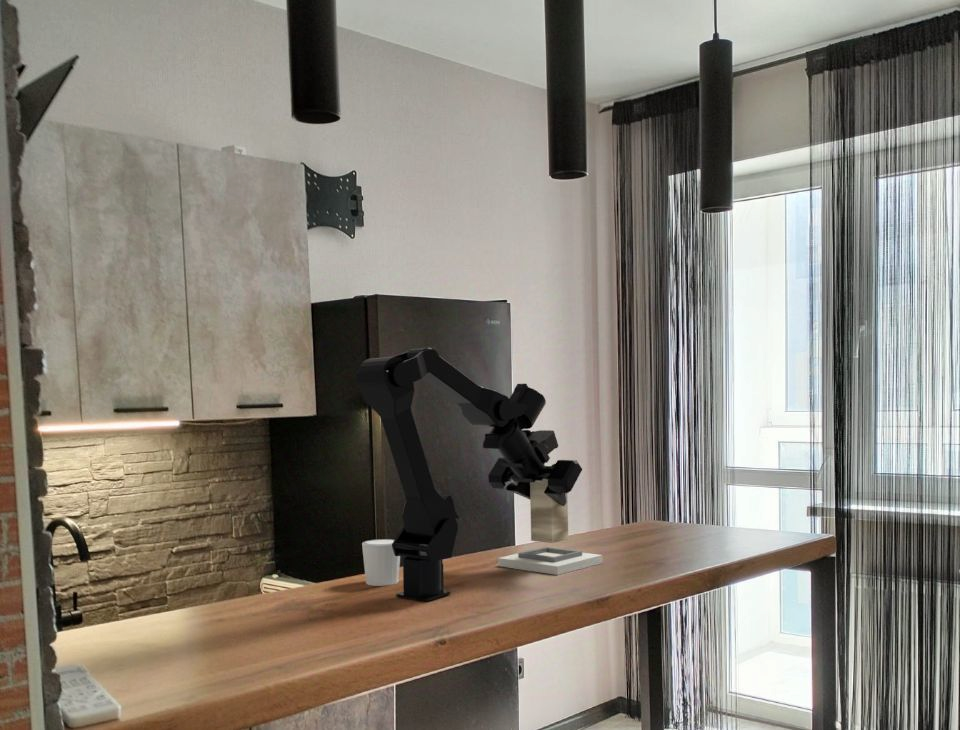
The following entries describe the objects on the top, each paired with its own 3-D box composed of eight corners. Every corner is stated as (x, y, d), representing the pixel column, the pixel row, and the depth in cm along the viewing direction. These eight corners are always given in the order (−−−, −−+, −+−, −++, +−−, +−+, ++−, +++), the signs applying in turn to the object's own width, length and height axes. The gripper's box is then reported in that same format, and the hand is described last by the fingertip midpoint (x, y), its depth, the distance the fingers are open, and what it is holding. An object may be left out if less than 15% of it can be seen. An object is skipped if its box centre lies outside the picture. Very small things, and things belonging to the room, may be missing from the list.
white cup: (405, 578, 149) (405, 538, 150) (397, 586, 143) (397, 544, 143) (367, 578, 150) (366, 538, 151) (357, 586, 143) (357, 544, 144)
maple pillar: (552, 543, 156) (550, 472, 157) (531, 540, 160) (529, 471, 160) (568, 539, 160) (566, 470, 161) (547, 537, 163) (546, 469, 164)
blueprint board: (557, 574, 150) (557, 561, 150) (498, 566, 159) (498, 553, 159) (602, 563, 160) (602, 550, 160) (544, 555, 170) (543, 543, 170)
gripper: (574, 415, 152) (610, 473, 159) (496, 416, 164) (533, 469, 172) (548, 462, 146) (587, 519, 153) (469, 459, 158) (508, 512, 166)
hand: (553, 503), depth 161 cm, fingers closed on maple pillar, 5 cm apart
